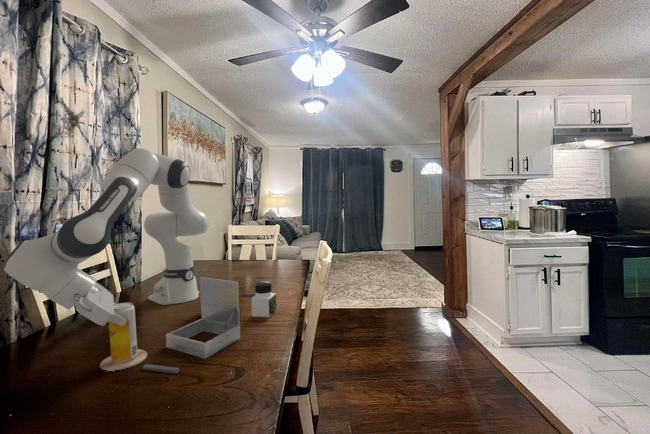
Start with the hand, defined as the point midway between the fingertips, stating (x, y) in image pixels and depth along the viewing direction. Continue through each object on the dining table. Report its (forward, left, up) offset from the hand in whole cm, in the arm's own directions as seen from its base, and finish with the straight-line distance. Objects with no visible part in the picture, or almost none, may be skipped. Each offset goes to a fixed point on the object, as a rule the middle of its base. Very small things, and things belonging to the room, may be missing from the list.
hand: (124, 318), depth 86 cm
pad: (0, -1, -12) cm, 12 cm away
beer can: (0, 0, -11) cm, 11 cm away
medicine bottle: (+14, +43, -12) cm, 47 cm away
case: (+12, +16, -12) cm, 23 cm away
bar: (+14, 0, -12) cm, 18 cm away
